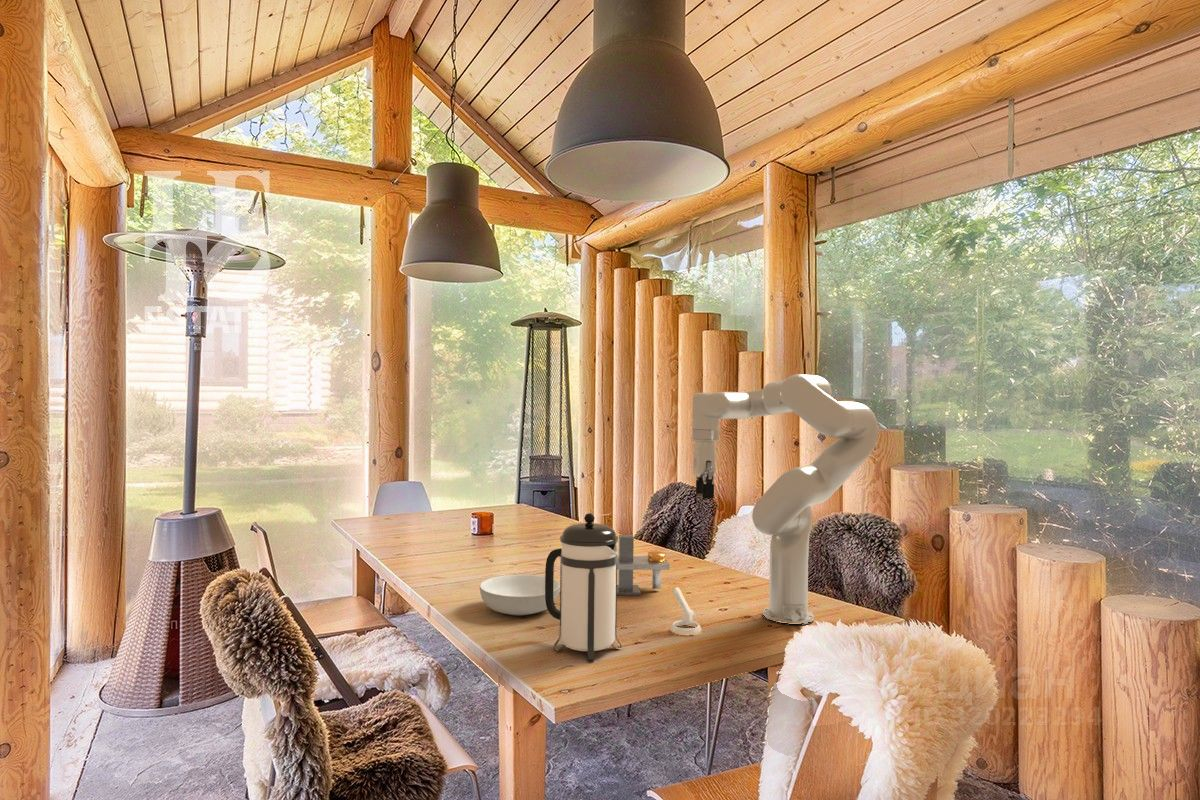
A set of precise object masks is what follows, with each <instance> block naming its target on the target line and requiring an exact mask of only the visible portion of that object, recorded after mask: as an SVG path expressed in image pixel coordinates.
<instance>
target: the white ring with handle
mask: <svg viewBox="0 0 1200 800" xmlns="http://www.w3.org/2000/svg"><path fill="white" fill-rule="evenodd" d="M672 595H674V598H675V600H676V602H677V604H678V606H679V608H680V609H681V611H682V617H681V619H680V620H676V621H674V622H673V623H672V624H671V626H670V628H669V631H670V630H671V631H673V632H675V633H681V634H693V633H698V632H700V631H701V630H702V627H701V625H700V624H699V622H696V621H694V619H695V618H696V613H694V611H695V610H694V609H693V610H692V609H691V608H690V606H689V604H688V603H687V600H686V599H685V596H684V595H683V593H682V591H681V589H680V587H677V586H676V587H675V588H673V589H672ZM678 625H692V626H696V627H695V628H694V627H688V628H687V627H686V628H685V627H681V626H679V627H677V626H678Z"/></svg>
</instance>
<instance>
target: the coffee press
mask: <svg viewBox="0 0 1200 800" xmlns="http://www.w3.org/2000/svg"><path fill="white" fill-rule="evenodd" d="M583 519H584V521H585V522H582V523H575V524H572V525H570V526H567V527H566V528H564V529H563V531H562V534H561V535H560V536H559V541H560V543H561V548H556V549H553V550H551V551H550V552H549V553H548V555H547V558H546V562H545V571H544V572H545V573H544V574H545V575H544V577H545V602H546V606H547V609H546V610H547V612H548V613H549V614H550V615H551V617H552V618H555V619H556V620H559V628H560V630H558V631H559V632H558V633H559V634H558V638H557V640H556V641H555V642H554V644H553V649H554V651H555V652H560V651H562V649H564V648H565V647H566V648H569V649H571V650H574V651H578V652H586V657H587V662H588V661H589V662H595V652H596V651H602V650H605V649H607V648H609V647H611V646H612V647H613V648H614V649H615V647H616V646H615V645H614V644H613V643H614V642H615V641H617V642H618V644H619V646H620V648H621V649H622V648H623V647H622V644H621V641H620V640H619V639H618V636H617V611H618V610H617V605H618V604H617V602H618V601H617V599H618V595H617V585H618V570H617V556H619V548H618V543H619V535H618V536H617V534H616V531H615V530H614V528H613V527H610V526H609V525H607V524H602V523H597V522H595V523H594V521H595V519H596V518H595V516H594V514H593V513H590V512H589V513H587V514H585V515H584V517H583ZM558 557H559V558H560V563H559V564H560V567H559V568H560V569H559V570H560V572H559V573H560V574H559V577H560V578H559V584H560V590H559V609H557V607H556V606H555V602H554V600H553V582H554V580H555V579H554V578H555V577H554V574H555V571H554V570H555V567H554V566H555V562H556V560H557V558H558ZM615 639H616V640H615ZM559 642H561V643H562V645H561V646H560V647H559V648H556V647H557V645H558V643H559Z"/></svg>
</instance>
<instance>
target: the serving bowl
mask: <svg viewBox="0 0 1200 800" xmlns="http://www.w3.org/2000/svg"><path fill="white" fill-rule="evenodd" d="M479 591H480V595H481V599H482V601H483V602H484V604H485V605H486V606H487V607H488V608H489V609H491V610H493V611H495V612H498V613H501V614H504V615H511V616H528V615H533V614H536V613H537V614H538V613H540V612H543V611H546V610H548V609H547V606H546V602H545V575H537V574H525V573H524V574H522V573H521V574H520V573H519V574H505V575H500V576H494V577H490V578H487V579H485V580H483V581H482V582H481V583H480V584H479ZM559 595H560V581H557V580H556V579H554V582H553V600H554V603H555V602H556V601H557V599H558V597H559Z"/></svg>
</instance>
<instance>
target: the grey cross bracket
mask: <svg viewBox="0 0 1200 800" xmlns="http://www.w3.org/2000/svg"><path fill="white" fill-rule="evenodd" d="M634 539H635V537H634V535H633V534H618V555H617V596H641V593H642V592H641V589H640V587H639V584H634V571H635V570H636V571H637V570H642V571H643V570H645V571H647V570H648V571H649V570H651V571H652V570H661V571H666V570H667V571H669V570H670V562H668V559H667V558H666V561H665V562H651V561H648V555H647V556H646V555H645V556H643V555H642V556H639V555H638V556H636V555H634V546H635V545H634V542H635V541H634Z"/></svg>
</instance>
